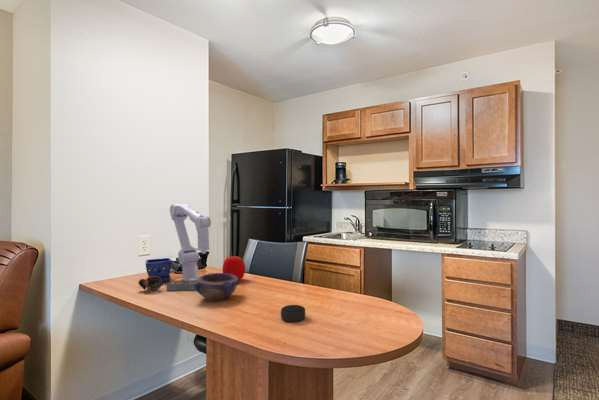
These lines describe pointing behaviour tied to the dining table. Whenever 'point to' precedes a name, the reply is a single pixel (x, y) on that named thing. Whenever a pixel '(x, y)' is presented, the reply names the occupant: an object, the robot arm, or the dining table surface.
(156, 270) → the flower pot
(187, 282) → the panel
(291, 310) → the smart speaker
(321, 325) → the dining table surface
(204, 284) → the bowl
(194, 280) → the slate button
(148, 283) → the brown bird figurine
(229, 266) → the tomato
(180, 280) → the peach ball
